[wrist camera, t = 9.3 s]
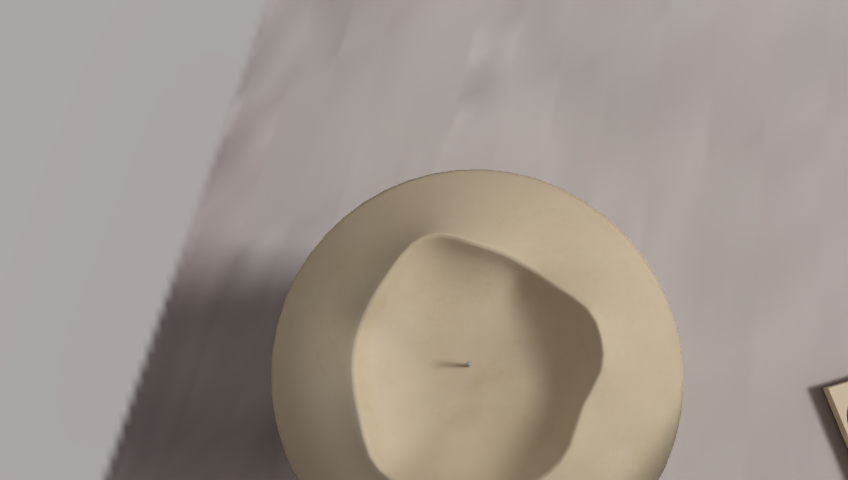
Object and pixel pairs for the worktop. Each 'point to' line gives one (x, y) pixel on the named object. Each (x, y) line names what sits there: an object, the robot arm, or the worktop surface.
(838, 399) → the letter
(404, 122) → the worktop surface
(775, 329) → the worktop surface
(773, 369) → the worktop surface
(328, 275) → the candle
